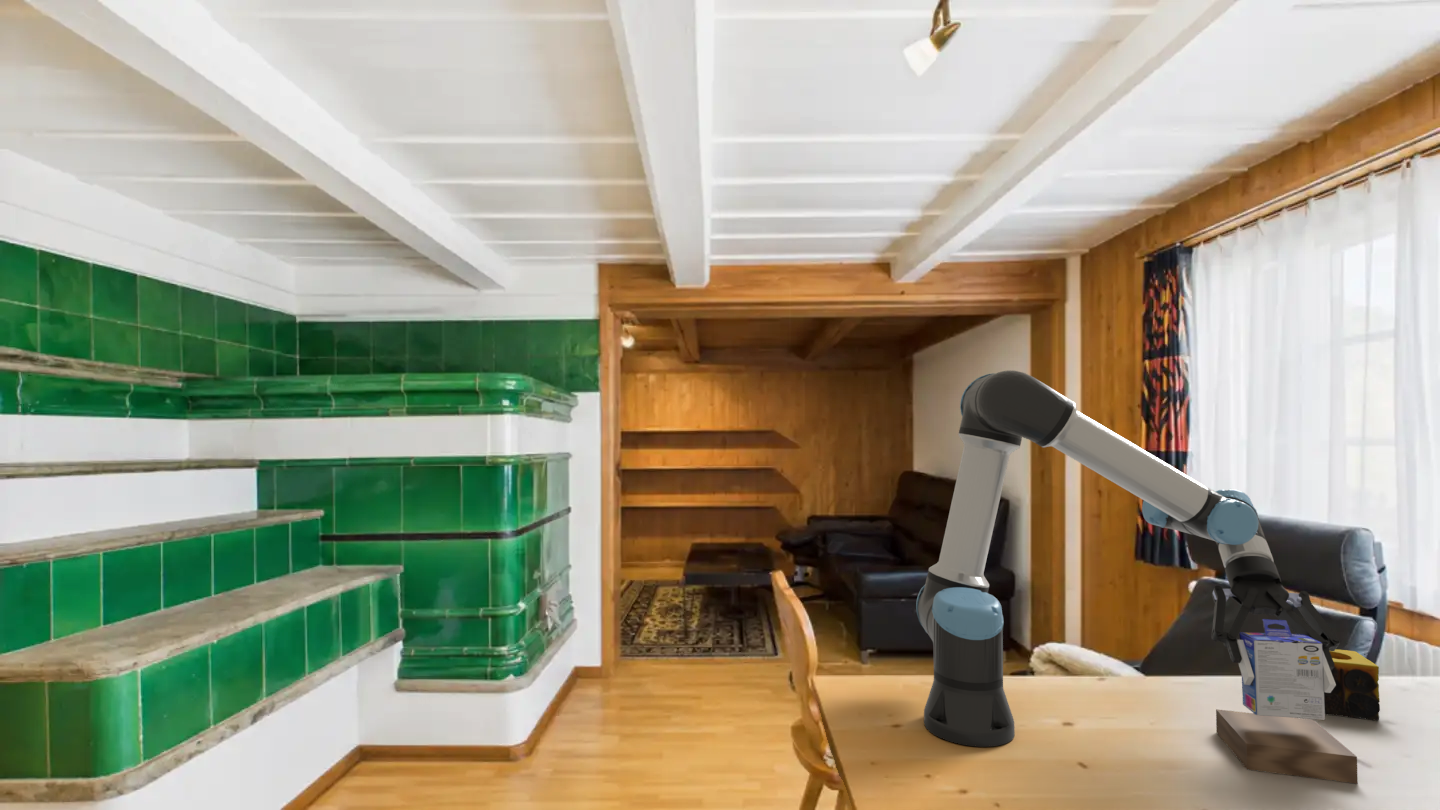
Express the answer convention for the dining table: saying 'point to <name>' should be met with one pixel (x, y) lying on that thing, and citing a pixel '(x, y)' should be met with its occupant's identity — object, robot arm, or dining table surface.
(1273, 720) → the walnut stand
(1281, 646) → the ink cartridge box
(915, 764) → the dining table surface
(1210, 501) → the robot arm
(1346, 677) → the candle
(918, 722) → the dining table surface
